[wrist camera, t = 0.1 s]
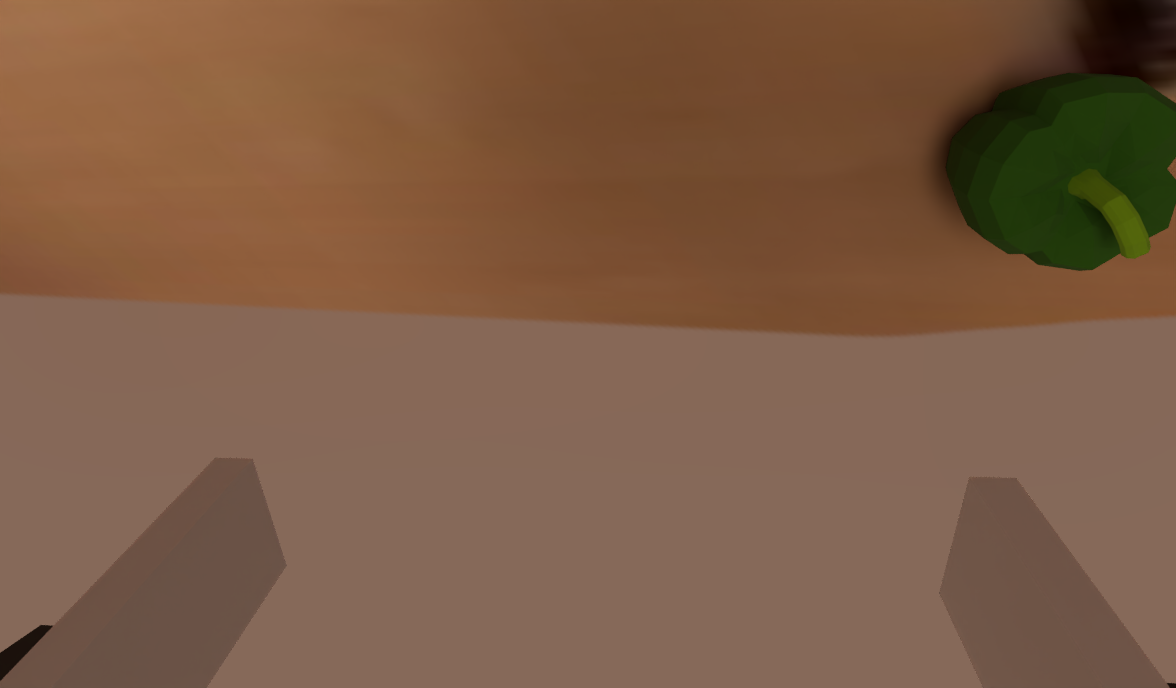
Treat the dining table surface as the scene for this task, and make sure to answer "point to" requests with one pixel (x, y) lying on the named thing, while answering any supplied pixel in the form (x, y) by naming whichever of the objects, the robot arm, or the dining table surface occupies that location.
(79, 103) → the dining table surface
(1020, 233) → the bell pepper
